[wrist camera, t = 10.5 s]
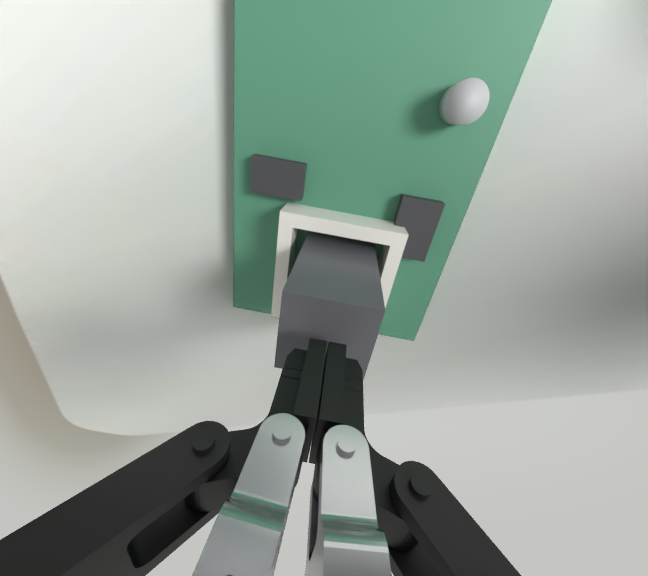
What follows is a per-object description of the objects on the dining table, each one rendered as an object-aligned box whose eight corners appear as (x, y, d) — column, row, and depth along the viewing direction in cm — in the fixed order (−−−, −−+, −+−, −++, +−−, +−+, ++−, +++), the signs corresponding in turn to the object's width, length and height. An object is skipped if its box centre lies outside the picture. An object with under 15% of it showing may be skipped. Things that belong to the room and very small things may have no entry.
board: (601, -154, 11) (670, -233, 9) (411, 331, 23) (417, 355, 21) (246, -217, 11) (216, -313, 9) (239, 298, 23) (225, 319, 21)
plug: (374, 241, 18) (385, 310, 11) (359, 298, 21) (361, 385, 14) (309, 229, 18) (281, 291, 12) (301, 287, 21) (274, 369, 14)
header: (402, 223, 18) (409, 236, 16) (374, 317, 21) (376, 339, 19) (287, 202, 18) (278, 212, 16) (278, 299, 21) (269, 319, 19)
